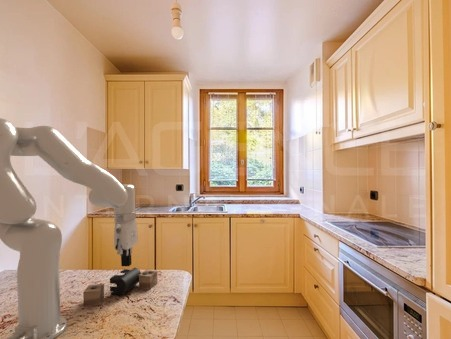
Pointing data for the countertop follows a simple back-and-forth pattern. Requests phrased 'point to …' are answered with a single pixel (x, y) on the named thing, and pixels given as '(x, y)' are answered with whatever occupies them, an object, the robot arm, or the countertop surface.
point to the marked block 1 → (93, 295)
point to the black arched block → (124, 281)
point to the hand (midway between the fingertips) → (126, 265)
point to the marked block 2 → (148, 279)
